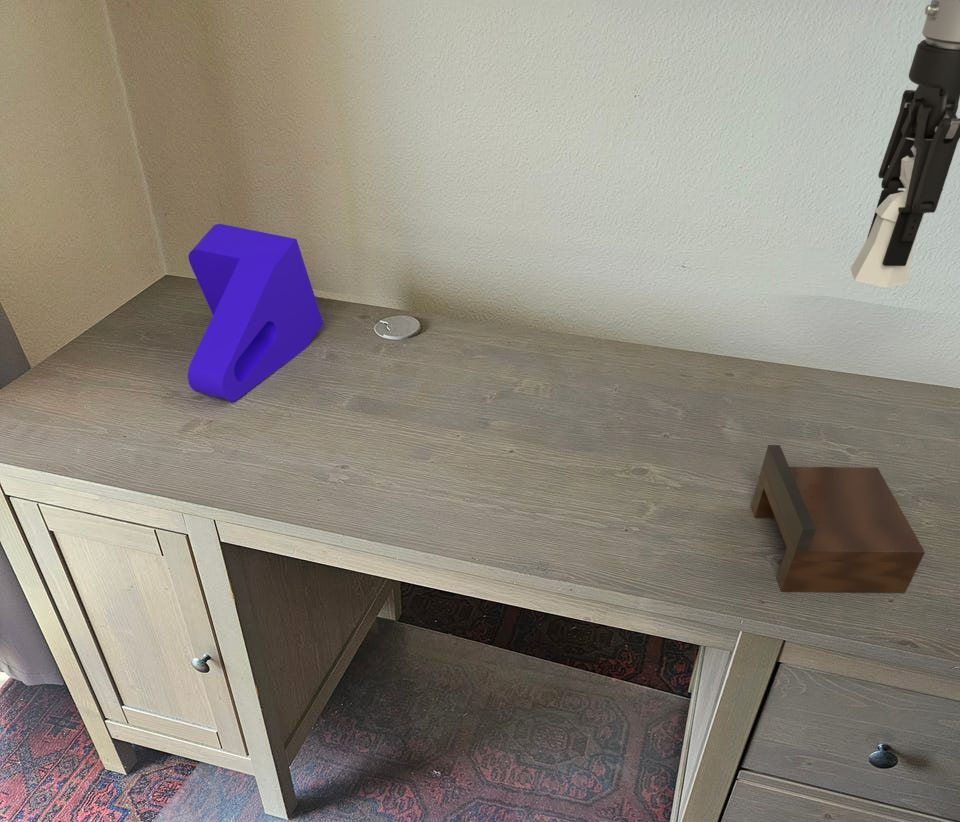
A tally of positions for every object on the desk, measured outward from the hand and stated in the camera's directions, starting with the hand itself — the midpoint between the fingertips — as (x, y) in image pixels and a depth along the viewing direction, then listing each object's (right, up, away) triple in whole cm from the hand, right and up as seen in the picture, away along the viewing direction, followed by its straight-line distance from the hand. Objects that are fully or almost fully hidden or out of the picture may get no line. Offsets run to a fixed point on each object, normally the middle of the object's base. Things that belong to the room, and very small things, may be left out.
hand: (885, 253), depth 112 cm
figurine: (0, -2, +2) cm, 3 cm away
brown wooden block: (-12, -39, -10) cm, 42 cm away
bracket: (-91, -7, +24) cm, 94 cm away
